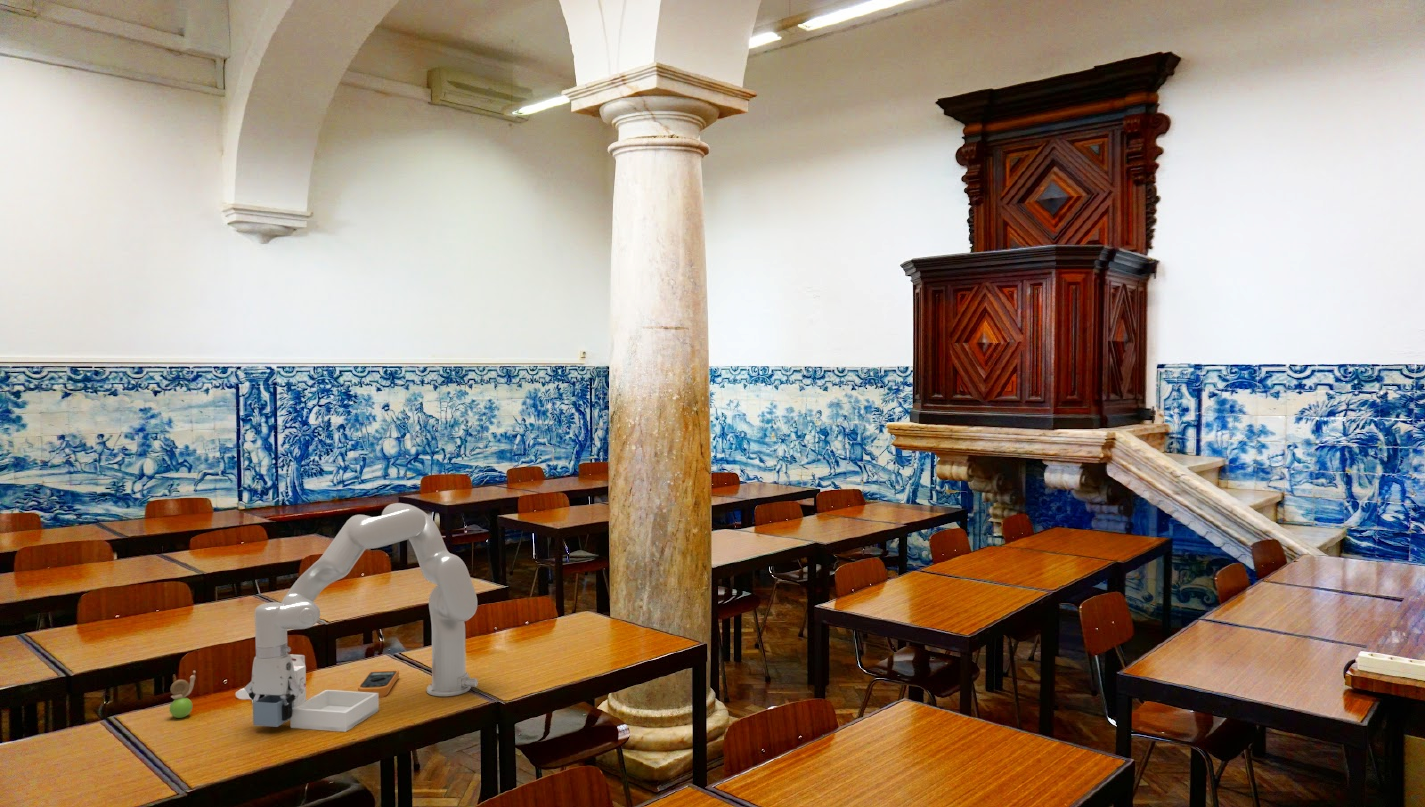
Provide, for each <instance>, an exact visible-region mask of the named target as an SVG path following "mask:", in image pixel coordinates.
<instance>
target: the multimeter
mask: <svg viewBox="0 0 1425 807" xmlns="http://www.w3.org/2000/svg"><path fill="white" fill-rule="evenodd" d="M399 677H400V671H399V669H395V668H394V669H393V668H391V669H375V670H374V669H373V670H370V672H368V674H367V676H366V677H365V679H364V680H363V681H362V682H360V684H359V685H358V687H357V692H371V693H379V698H382V697H386V696H387V695H388V694H389V693H390V691H391V689H392V687H394V685H395V683H396V682H397V681H398V679H399Z"/></svg>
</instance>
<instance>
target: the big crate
mask: <svg viewBox="0 0 1425 807" xmlns="http://www.w3.org/2000/svg"><path fill="white" fill-rule="evenodd" d="M379 698H380V697H379V693H371V692H358V691H351V690H339V689H338V690H337V689H325V690H323V691H321V692H320V693H318V694H316V695H314V696H311V697H309V698H308V699H306V701H304V702H302V703H301V704H299V705H297V706H295V707H293V708H292V717H291V718H290V720H289V721H290V728H291V729H301V730H315V731H316V730H317V731H328V732H329V731H330V732H344V733H346V732H347V731H350V730H351V729H353V728H354V727H356V726H357V725H359V724H360V723H362V722H364V721H365V720H367V719H368V718H370V717H372V716H373V715H374V714H377V712H379V707H380V706H379V704H380V703H379V702H380V700H379Z"/></svg>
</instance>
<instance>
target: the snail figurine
mask: <svg viewBox="0 0 1425 807" xmlns="http://www.w3.org/2000/svg"><path fill="white" fill-rule="evenodd" d="M192 673H193V674H192V675H191V676H190V677H189V682H188V681H187V680H186V679H182V678H181V679H177V680H175V681H173V683H172V684H171V686H170V693H171V694H172V695H171V696H170V698H172V699H173V701H172V702H171V703H170V705H169V712H170V714H171V716H172V717H174V718H177V719H183V718H185V717H187V716H188V715H190V713H191V712H192V710H193V702H192V700H190V699H189V698H188V697H187V696H189V695H190V694H191V693H192V691H193V689H194V685H195V680H196V670H193V671H192Z"/></svg>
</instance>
